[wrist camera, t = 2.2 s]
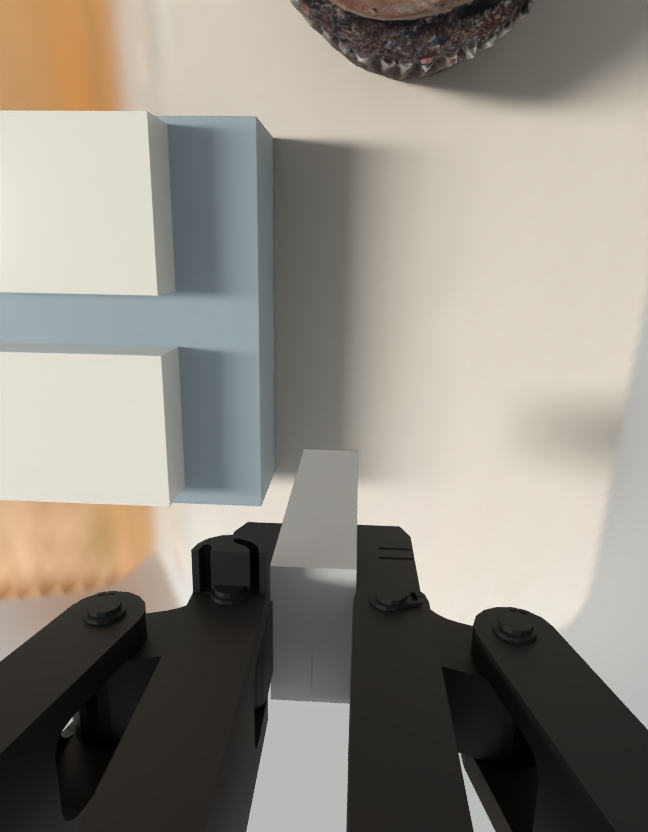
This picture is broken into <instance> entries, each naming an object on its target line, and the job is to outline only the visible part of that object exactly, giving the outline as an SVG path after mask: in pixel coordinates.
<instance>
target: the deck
mask: <svg viewBox="0 0 648 832" xmlns="http://www.w3.org/2000/svg"><path fill="white" fill-rule="evenodd" d="M155 117H157V118H158V119H160V120H161V121H163V122H165V123H166V124H167V128H168V149H169V169H170V189H171V209H172V230H173V250H174V270H175V290H176V291H175V292H171V293H166V294H162V295H158V296H152V295H105V294H58V293H11V292H0V342H20V343H58V344H97V345H136V346H175V347H178V351H179V371H180V392H181V412H182V432H183V452H184V473H185V486H184V488H183V489H182V491H181V492H180V493H179V495H178V496H177V497H176V499H175V500H174V501H173V503H194V504H219V505H244V506H261V505H262V503H263V500H264V497H265V495H266V492H267V490H268V487H269V484H270V482H271V479H272V477H273V474H274V471H275V387H274V225H273V137H272V136H271V135H270V133H269V132H268V131H267V130H266V128H265V127H264V126H263V125H262V123H261V122H260V121H259V120H258V118H257V117H256V116H155Z"/></svg>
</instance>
